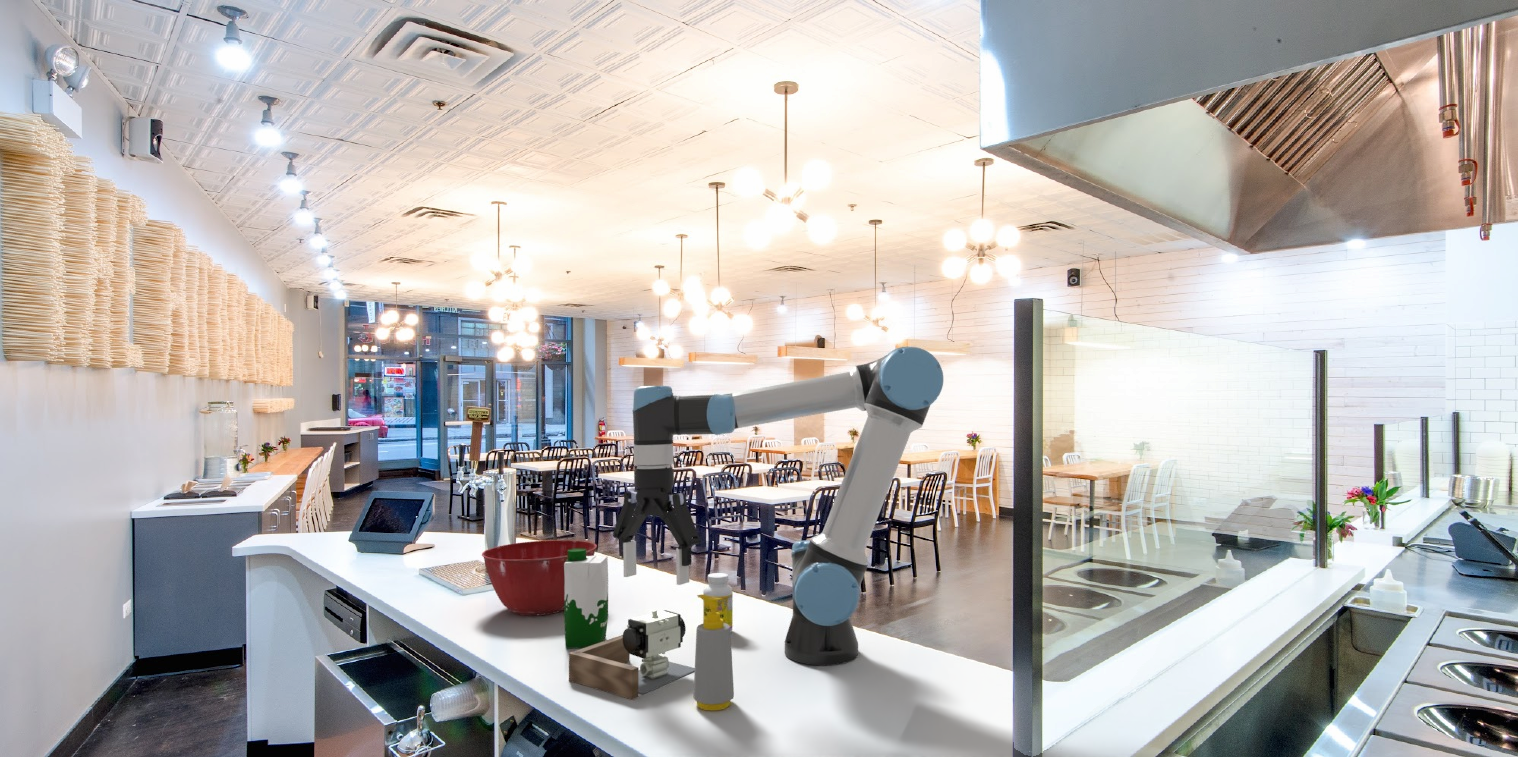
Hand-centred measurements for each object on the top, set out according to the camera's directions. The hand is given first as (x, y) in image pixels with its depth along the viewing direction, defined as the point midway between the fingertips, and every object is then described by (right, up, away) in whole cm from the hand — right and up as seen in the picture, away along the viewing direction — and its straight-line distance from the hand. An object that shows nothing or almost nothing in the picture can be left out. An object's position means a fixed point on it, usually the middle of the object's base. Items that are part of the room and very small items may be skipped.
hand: (655, 579), depth 137 cm
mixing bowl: (-37, -21, +49) cm, 65 cm away
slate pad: (0, -18, -1) cm, 18 cm away
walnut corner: (-5, -18, -2) cm, 19 cm away
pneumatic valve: (0, -18, -1) cm, 18 cm away
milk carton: (-18, -20, +20) cm, 33 cm away
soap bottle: (+12, -17, -14) cm, 25 cm away
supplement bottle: (+10, -20, +27) cm, 35 cm away
